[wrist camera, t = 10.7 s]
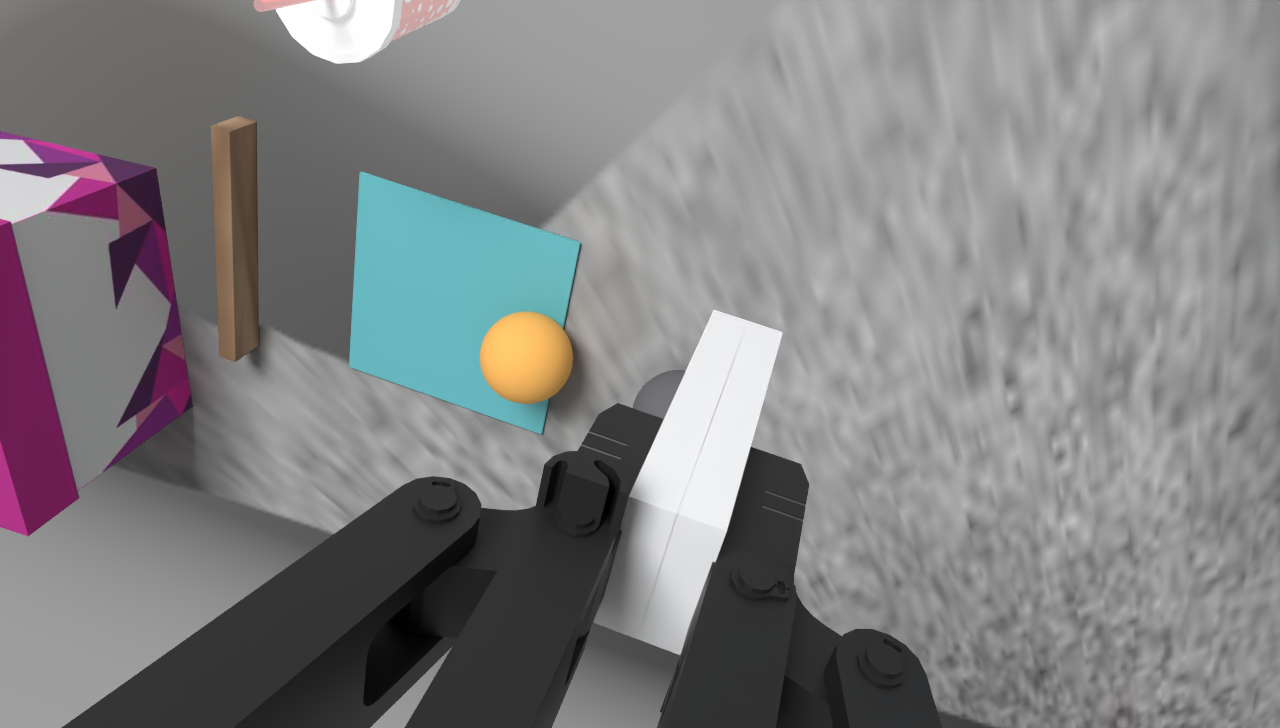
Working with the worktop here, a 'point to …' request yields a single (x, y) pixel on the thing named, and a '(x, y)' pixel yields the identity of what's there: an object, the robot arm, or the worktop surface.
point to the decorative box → (80, 323)
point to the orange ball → (526, 357)
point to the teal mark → (448, 292)
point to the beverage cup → (354, 23)
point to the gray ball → (659, 393)
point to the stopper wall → (236, 235)
